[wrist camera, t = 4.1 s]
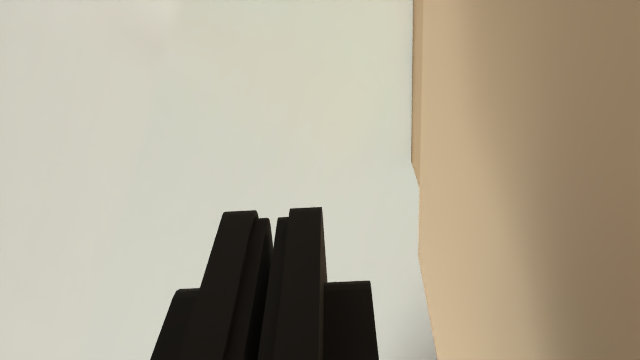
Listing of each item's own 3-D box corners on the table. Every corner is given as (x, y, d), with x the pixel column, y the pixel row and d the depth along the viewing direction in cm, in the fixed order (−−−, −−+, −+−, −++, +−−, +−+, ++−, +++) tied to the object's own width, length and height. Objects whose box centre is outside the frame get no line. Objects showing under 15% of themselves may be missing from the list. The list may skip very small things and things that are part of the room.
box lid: (1413, -305, 2) (1101, -280, 2) (613, 969, 8) (549, 964, 8) (456, -145, 16) (426, -143, 16) (439, 255, 22) (418, 255, 22)
